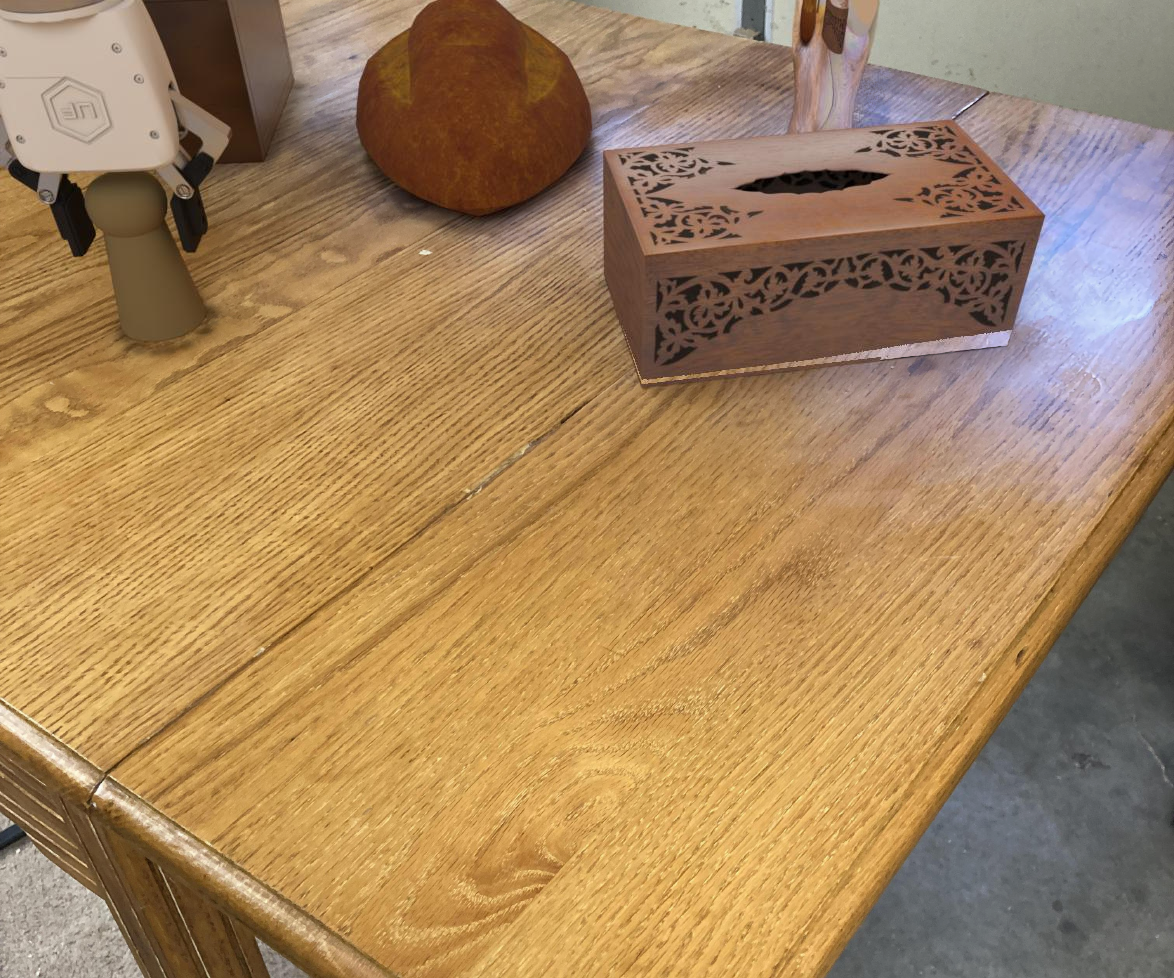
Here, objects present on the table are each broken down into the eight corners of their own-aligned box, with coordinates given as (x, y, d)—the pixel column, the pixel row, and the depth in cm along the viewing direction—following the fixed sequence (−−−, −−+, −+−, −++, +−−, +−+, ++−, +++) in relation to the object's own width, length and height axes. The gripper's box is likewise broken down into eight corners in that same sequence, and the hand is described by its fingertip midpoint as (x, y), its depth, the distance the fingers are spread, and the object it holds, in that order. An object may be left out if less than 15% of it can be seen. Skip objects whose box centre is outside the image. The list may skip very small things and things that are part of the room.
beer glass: (766, 132, 103) (783, -41, 92) (833, 120, 104) (857, -51, 94) (803, 164, 98) (826, -15, 88) (873, 150, 99) (902, -26, 89)
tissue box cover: (926, 242, 88) (953, 119, 81) (1007, 346, 77) (1045, 215, 70) (603, 274, 85) (603, 150, 78) (641, 387, 74) (644, 255, 67)
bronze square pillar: (105, 167, 100) (45, -15, 89) (156, 84, 113) (109, -83, 103) (263, 162, 100) (222, -21, 89) (294, 79, 113) (262, -88, 103)
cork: (211, 330, 80) (170, 189, 73) (124, 349, 79) (73, 207, 71) (200, 288, 84) (161, 151, 77) (117, 305, 83) (68, 167, 75)
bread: (338, 238, 90) (310, 87, 81) (378, 75, 114) (360, -54, 105) (600, 229, 90) (599, 77, 82) (585, 69, 114) (582, -61, 106)
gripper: (-125, 2, 62) (-6, 278, 74) (188, -8, 63) (256, 269, 75) (-72, -41, 68) (31, 222, 80) (215, -50, 68) (275, 214, 80)
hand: (139, 243), depth 77 cm, fingers open, 6 cm apart
